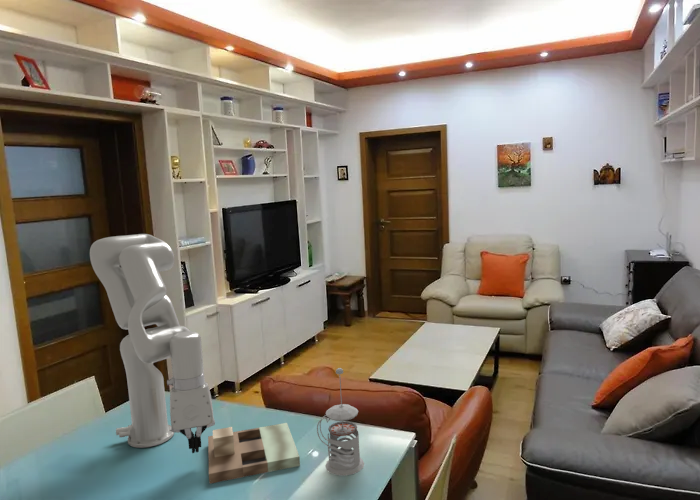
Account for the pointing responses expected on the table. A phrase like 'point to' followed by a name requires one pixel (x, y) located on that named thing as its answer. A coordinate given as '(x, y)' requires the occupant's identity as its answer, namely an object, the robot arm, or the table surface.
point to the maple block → (223, 442)
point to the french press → (345, 457)
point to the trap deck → (254, 453)
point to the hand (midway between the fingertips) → (195, 450)
